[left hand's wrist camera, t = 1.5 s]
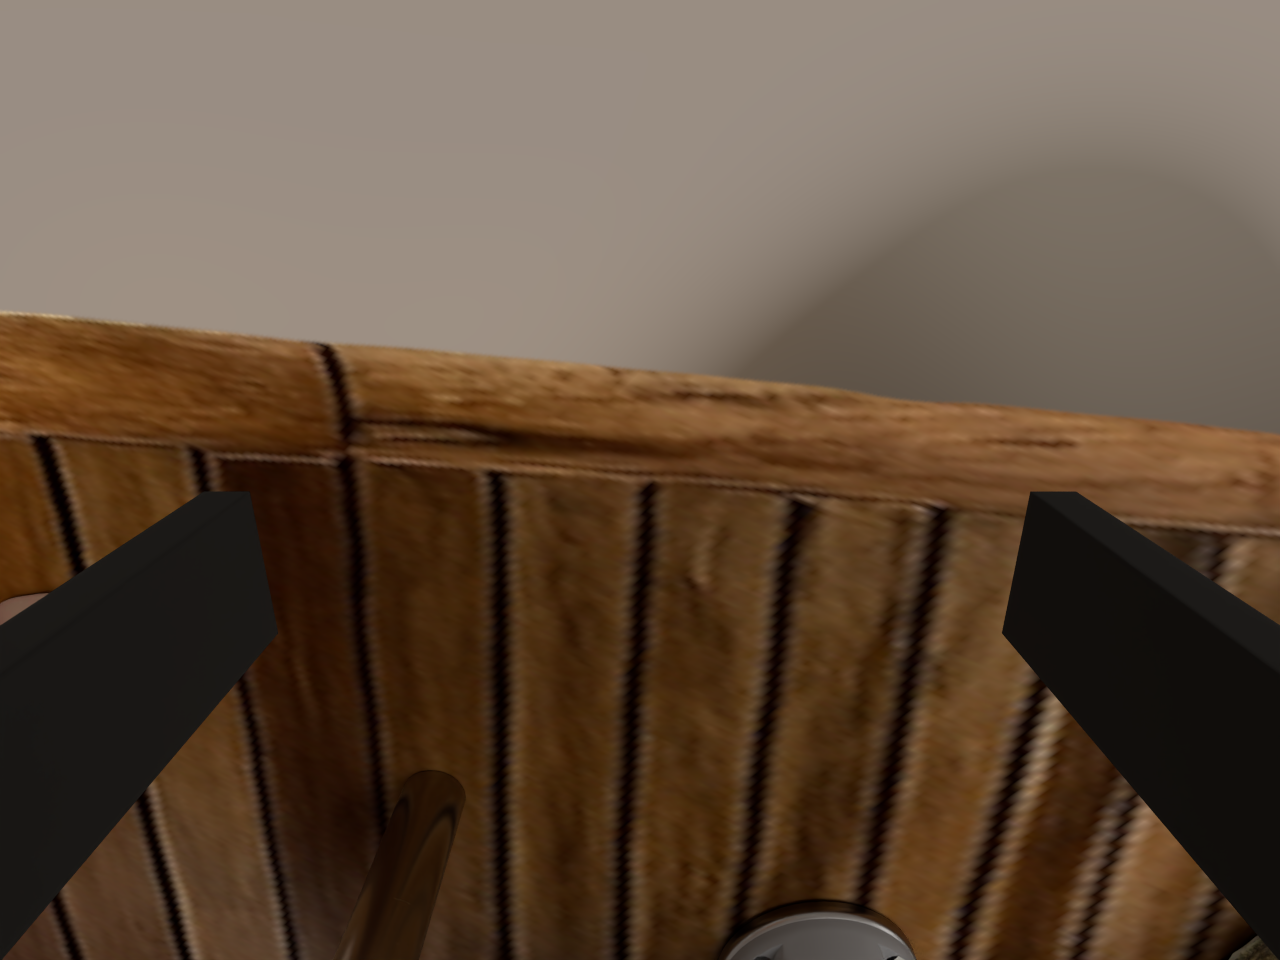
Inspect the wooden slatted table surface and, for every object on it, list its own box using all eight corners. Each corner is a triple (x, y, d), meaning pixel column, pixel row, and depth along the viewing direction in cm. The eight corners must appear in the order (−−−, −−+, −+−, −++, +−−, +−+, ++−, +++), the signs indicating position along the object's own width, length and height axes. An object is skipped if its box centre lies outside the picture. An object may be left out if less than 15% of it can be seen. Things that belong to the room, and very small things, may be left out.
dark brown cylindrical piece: (391, 781, 50) (273, 1054, 34) (448, 762, 49) (355, 1031, 33) (420, 826, 51) (320, 1109, 35) (476, 809, 50) (400, 1088, 34)
